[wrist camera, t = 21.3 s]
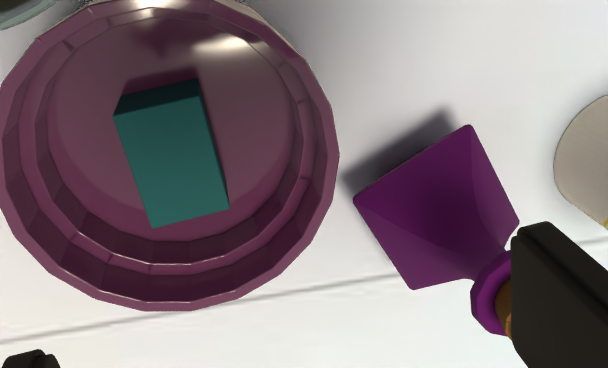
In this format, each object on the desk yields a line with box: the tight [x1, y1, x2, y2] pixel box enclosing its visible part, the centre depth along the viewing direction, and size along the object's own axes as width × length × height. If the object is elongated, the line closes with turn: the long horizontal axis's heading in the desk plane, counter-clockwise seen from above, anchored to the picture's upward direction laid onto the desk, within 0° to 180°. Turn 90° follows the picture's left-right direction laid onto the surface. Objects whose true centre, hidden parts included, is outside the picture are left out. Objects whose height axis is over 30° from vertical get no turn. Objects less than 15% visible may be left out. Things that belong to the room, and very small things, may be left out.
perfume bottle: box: [353, 124, 519, 340], centre depth 27 cm, size 8×8×18 cm
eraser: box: [113, 78, 230, 228], centre depth 28 cm, size 6×4×4 cm, turn 11°
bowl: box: [0, 0, 340, 311], centre depth 28 cm, size 15×15×6 cm
